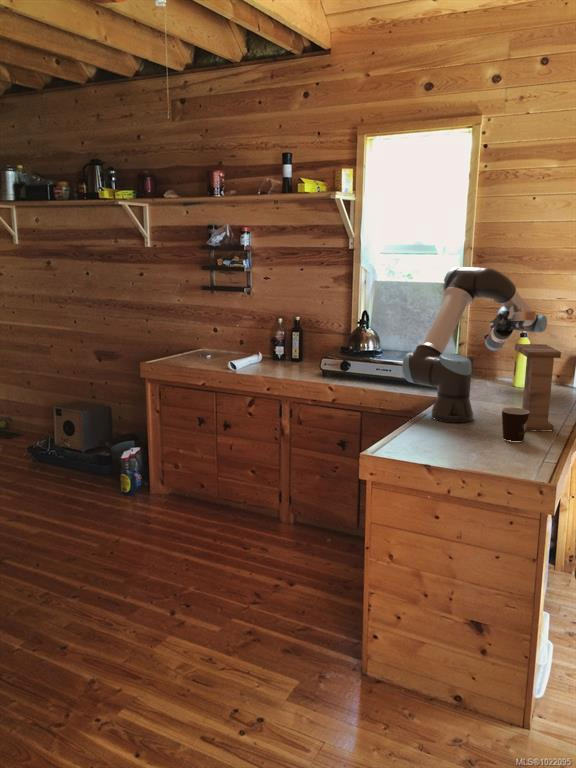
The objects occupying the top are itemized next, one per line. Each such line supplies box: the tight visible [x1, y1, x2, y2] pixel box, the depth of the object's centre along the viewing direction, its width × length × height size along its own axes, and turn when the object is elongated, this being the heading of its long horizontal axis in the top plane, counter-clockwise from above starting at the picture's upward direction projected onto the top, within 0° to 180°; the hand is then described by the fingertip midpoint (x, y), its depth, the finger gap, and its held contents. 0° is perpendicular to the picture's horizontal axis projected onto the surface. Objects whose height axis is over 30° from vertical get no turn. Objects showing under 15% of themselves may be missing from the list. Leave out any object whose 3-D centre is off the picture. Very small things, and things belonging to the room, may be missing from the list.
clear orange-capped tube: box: [507, 310, 536, 321], centre depth 252 cm, size 26×4×3 cm, turn 176°
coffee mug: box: [501, 407, 529, 441], centre depth 218 cm, size 12×9×10 cm
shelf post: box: [514, 343, 562, 432], centre depth 233 cm, size 16×11×28 cm
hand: (517, 309), depth 256 cm, fingers closed on clear orange-capped tube, 3 cm apart
